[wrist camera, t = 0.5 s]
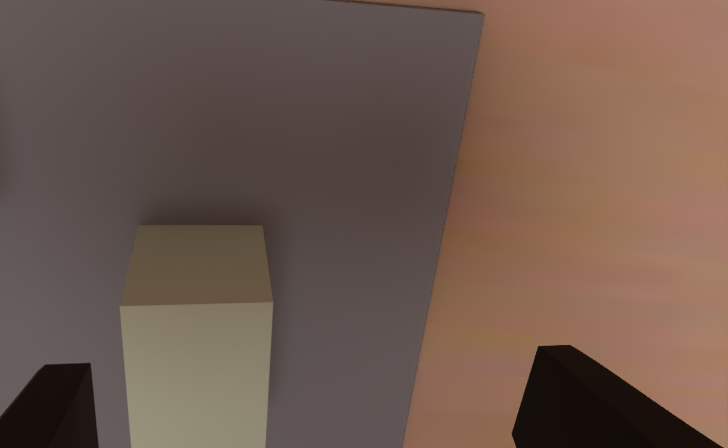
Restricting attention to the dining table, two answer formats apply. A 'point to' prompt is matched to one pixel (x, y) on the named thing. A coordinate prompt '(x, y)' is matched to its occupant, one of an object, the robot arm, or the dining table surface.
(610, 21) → the dining table surface
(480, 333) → the dining table surface
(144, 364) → the beige brick
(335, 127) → the mat
